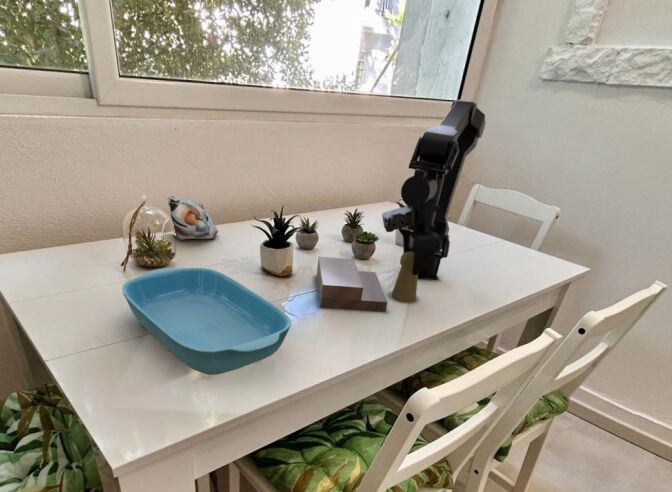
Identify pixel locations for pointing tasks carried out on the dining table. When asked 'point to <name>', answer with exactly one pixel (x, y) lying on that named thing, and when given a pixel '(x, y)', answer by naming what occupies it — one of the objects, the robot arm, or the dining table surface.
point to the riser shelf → (348, 286)
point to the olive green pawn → (405, 281)
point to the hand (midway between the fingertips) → (409, 267)
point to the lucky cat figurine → (191, 220)
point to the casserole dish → (206, 318)
